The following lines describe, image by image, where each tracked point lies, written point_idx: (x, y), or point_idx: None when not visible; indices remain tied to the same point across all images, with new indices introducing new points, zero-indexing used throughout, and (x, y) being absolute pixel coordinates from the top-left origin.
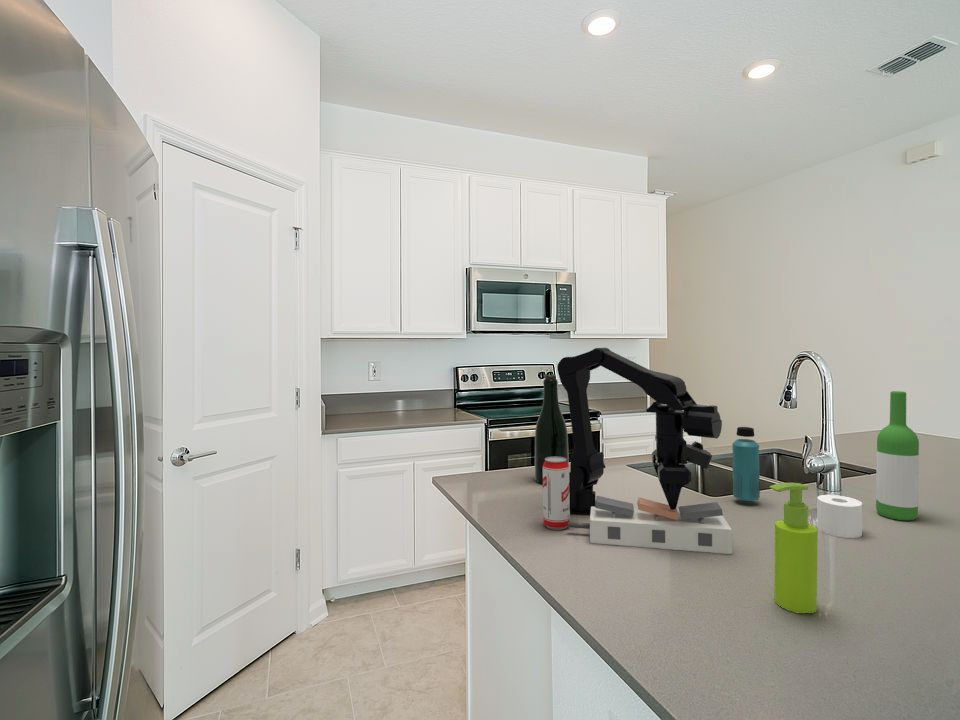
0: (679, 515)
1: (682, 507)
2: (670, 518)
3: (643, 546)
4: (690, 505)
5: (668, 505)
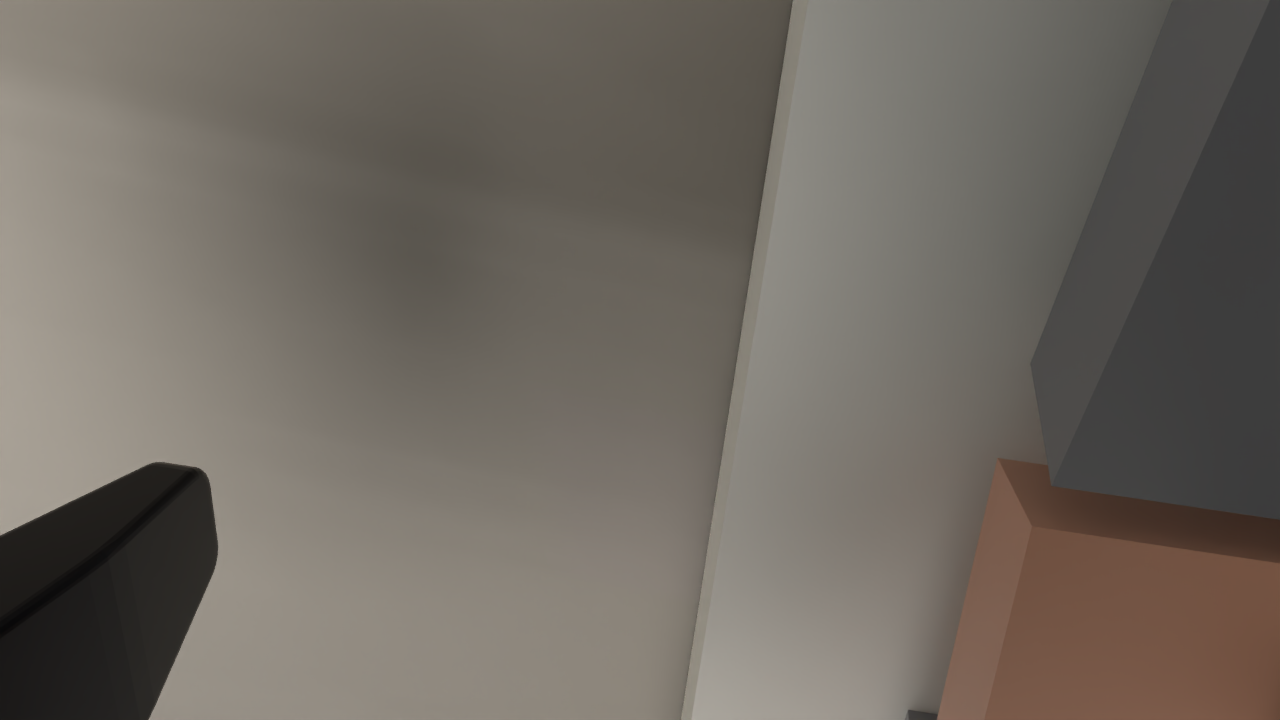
0: (1027, 336)
1: (1196, 426)
2: None
3: None
4: (1216, 210)
5: (1018, 705)
